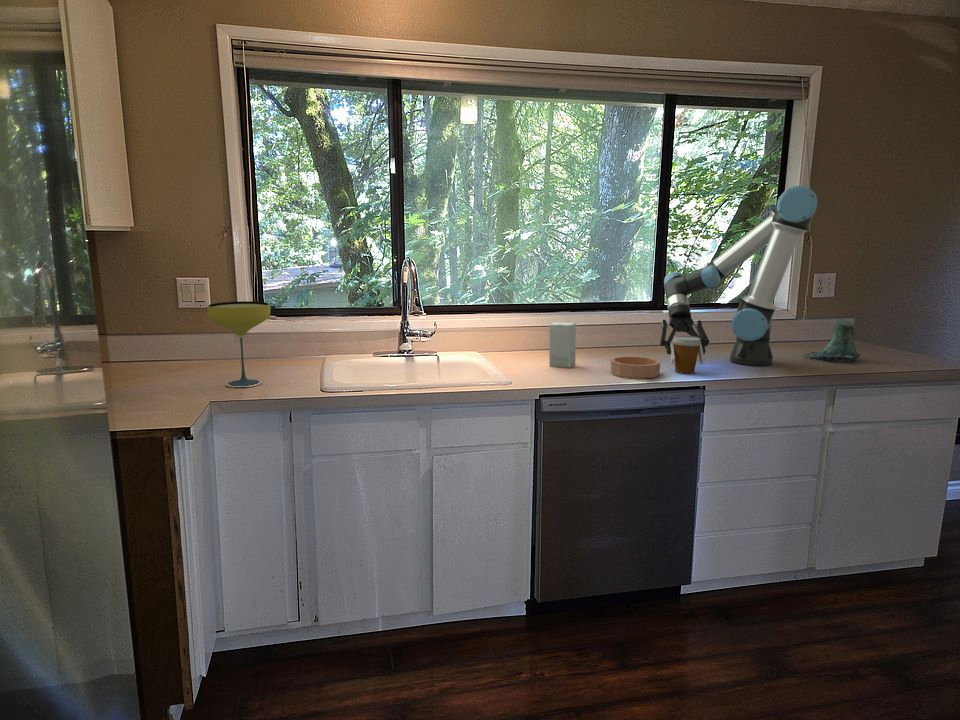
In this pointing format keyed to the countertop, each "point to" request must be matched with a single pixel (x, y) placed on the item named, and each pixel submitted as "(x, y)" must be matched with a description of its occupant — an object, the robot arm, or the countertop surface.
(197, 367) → the countertop surface
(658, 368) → the terracotta dish
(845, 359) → the tree stump
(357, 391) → the countertop surface
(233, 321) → the cocktail glass
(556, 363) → the skincare box
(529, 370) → the countertop surface
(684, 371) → the disposable coffee cup
